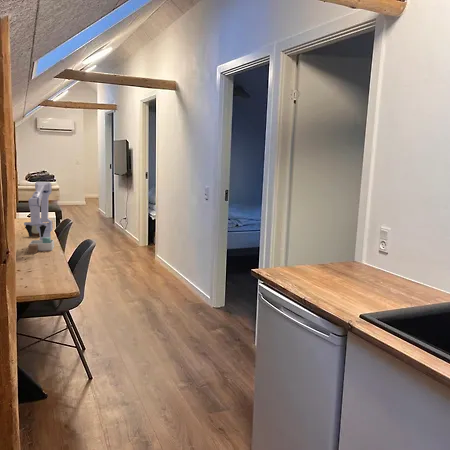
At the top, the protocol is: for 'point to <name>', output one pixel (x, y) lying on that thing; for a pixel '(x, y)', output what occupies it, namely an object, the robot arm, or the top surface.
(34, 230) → the food container
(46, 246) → the tote
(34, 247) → the walnut cube
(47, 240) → the teal cylinder
